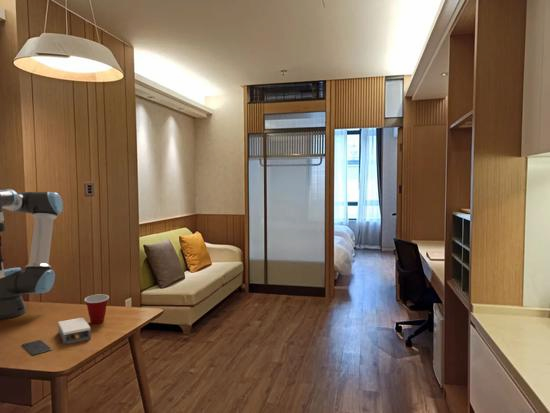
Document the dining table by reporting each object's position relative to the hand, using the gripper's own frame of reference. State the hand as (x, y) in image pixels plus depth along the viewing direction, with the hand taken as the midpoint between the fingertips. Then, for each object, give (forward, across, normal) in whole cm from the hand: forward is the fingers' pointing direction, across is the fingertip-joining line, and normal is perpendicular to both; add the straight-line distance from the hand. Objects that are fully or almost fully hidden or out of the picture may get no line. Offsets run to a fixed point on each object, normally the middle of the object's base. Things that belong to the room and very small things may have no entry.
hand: (0, 277), depth 158 cm
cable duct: (+28, +16, +22) cm, 39 cm away
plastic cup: (+30, +3, +35) cm, 46 cm away
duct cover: (+24, +16, +23) cm, 37 cm away
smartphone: (+28, +20, +8) cm, 35 cm away
